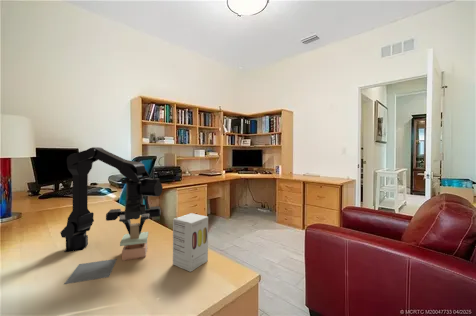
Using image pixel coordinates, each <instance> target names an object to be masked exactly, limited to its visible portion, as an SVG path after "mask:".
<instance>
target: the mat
mask: <svg viewBox="0 0 476 316" xmlns="http://www.w3.org/2000/svg"><path fill="white" fill-rule="evenodd" d="M117 260H118V258H113V259H106V260H99V261H93V262H85V263H79V264H78V265H77V267H75V269H74V270H73V271H72V273H71V274H70V276H69V277H68V278H67V279H66V281H65V282H64V284H63V285H68V284H69V285H70V284H73V283H81V282H86V281H93V280H99V279H100V280H101V279H104V278H105V279H106V278H110V276H111V273H112V272H113V270H114V267H115V264H116V262H117Z"/></svg>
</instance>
